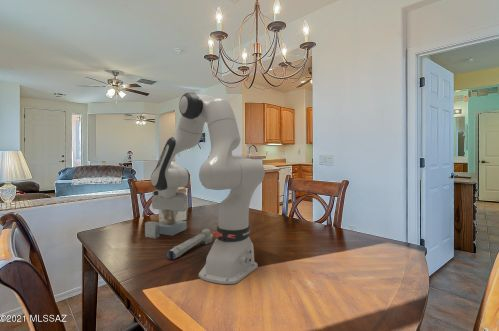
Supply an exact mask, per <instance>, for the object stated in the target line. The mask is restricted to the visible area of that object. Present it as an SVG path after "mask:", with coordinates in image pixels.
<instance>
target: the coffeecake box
mask: <svg viewBox="0 0 499 331" xmlns="http://www.w3.org/2000/svg"><path fill="white" fill-rule="evenodd" d="M178 193H185V194H186V195H187V188H186V187H179V188H178ZM175 220H178V221H185V220H186V221H187V211H184V212H180V211H178V214H177V215H176V219H175ZM162 221H165V218H164V215H163V213H162V210H161V209H158V222H159V223H160V222H162Z"/></svg>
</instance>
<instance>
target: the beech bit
mask: <svg viewBox="0 0 499 331" xmlns="http://www.w3.org/2000/svg"><path fill="white" fill-rule="evenodd" d="M173 215H174V211H171V210H165V211H164V218H165V224H167V225H172V224H175V219H172V216H173Z"/></svg>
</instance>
